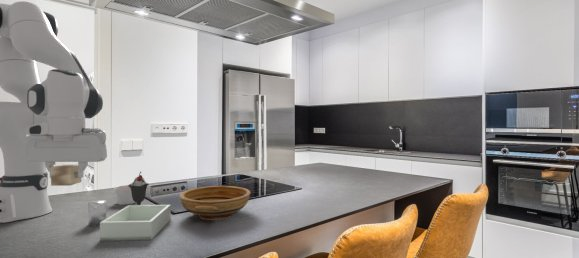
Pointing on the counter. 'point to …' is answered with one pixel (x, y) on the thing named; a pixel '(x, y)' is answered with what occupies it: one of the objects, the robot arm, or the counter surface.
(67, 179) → the maple cube
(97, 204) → the aluminium cylinder
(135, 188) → the sundae
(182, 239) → the counter surface
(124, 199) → the candle
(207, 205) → the wooden bowl
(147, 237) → the tote
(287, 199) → the counter surface
